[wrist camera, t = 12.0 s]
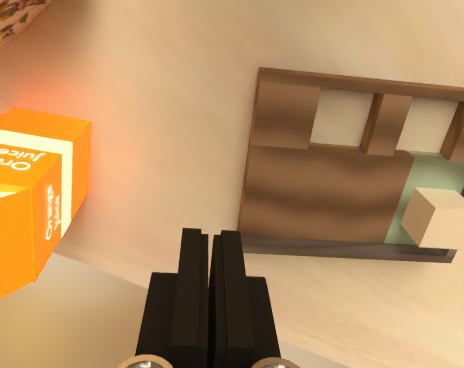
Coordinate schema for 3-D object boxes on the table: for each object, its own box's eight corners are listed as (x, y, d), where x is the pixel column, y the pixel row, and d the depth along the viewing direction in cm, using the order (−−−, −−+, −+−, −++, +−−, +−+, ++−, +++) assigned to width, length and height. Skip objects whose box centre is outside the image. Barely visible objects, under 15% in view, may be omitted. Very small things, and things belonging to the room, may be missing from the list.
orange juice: (92, 120, 38) (-7, 234, 21) (88, 193, 42) (3, 340, 25) (12, 106, 37) (-165, 212, 20) (16, 182, 41) (-128, 328, 23)
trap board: (259, 67, 37) (264, 75, 33) (500, 91, 39) (529, 101, 36) (236, 232, 46) (239, 252, 42) (433, 243, 48) (450, 263, 45)
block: (414, 187, 42) (435, 208, 38) (455, 190, 42) (480, 211, 38) (400, 223, 44) (419, 247, 40) (439, 226, 45) (461, 249, 41)
